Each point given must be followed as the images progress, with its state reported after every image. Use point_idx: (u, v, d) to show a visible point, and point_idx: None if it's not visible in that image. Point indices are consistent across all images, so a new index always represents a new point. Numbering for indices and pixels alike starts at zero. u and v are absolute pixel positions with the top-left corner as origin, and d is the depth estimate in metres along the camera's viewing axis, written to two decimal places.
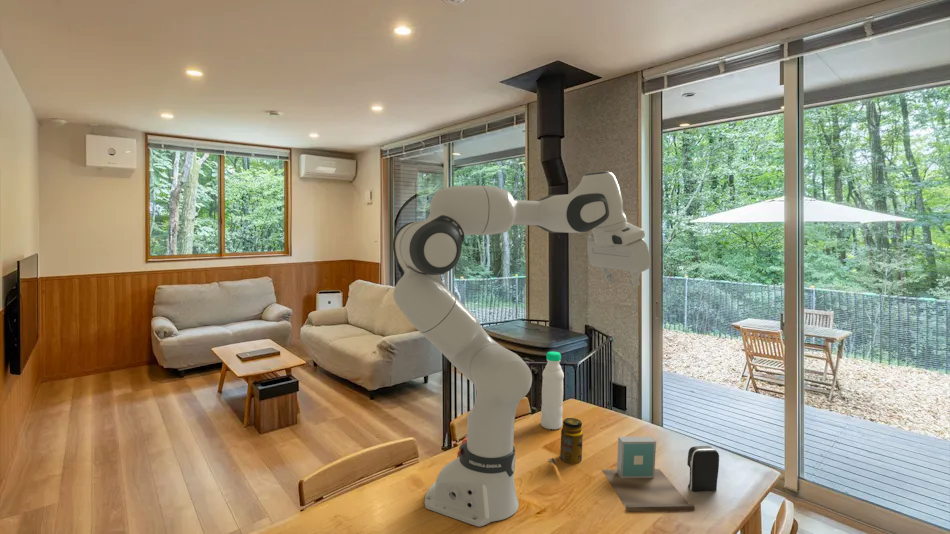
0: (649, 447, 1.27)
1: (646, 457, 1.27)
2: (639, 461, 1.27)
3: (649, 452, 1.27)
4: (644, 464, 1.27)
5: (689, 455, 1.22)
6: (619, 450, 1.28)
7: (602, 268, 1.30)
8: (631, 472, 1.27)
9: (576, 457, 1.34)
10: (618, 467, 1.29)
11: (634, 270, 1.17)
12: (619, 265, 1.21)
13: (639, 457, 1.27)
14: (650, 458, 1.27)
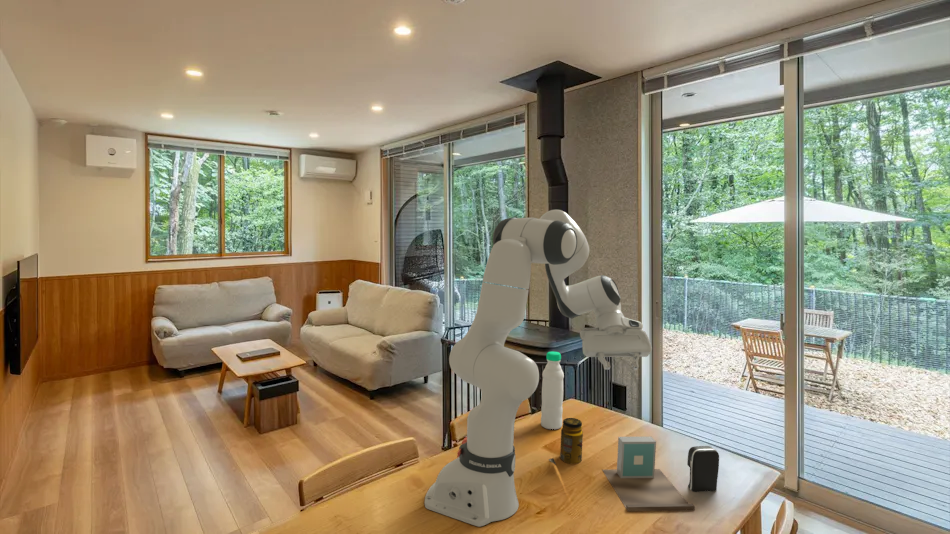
0: (649, 447, 1.27)
1: (646, 457, 1.27)
2: (639, 461, 1.27)
3: (649, 452, 1.27)
4: (644, 464, 1.27)
5: (689, 454, 1.22)
6: (619, 450, 1.28)
7: (602, 354, 1.42)
8: (631, 472, 1.27)
9: (576, 457, 1.34)
10: (618, 467, 1.29)
11: (645, 349, 1.42)
12: (627, 347, 1.43)
13: (639, 457, 1.27)
14: (650, 458, 1.27)
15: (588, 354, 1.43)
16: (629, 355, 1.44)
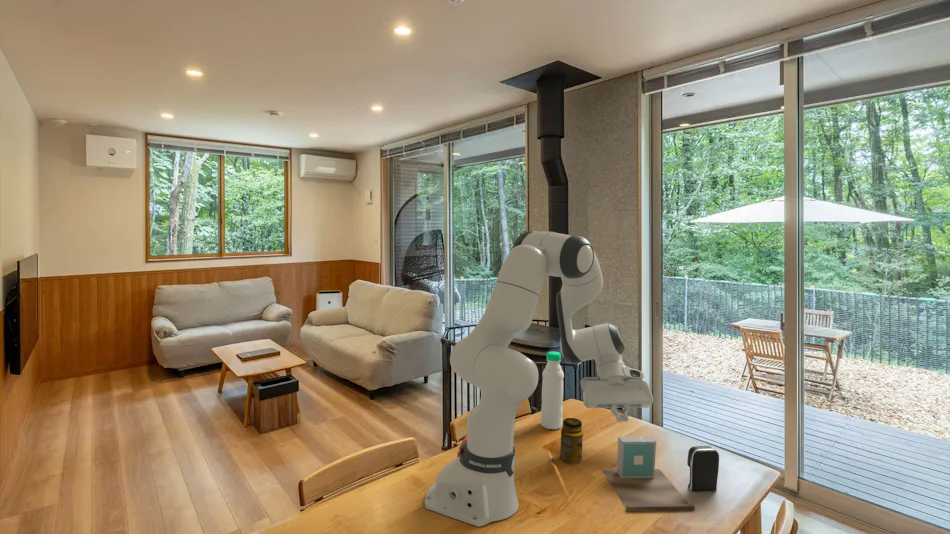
0: (649, 447, 1.27)
1: (646, 457, 1.27)
2: (639, 461, 1.27)
3: (649, 452, 1.27)
4: (644, 464, 1.27)
5: (689, 455, 1.22)
6: (619, 450, 1.28)
7: (615, 406, 1.40)
8: (631, 472, 1.27)
9: (576, 457, 1.34)
10: (618, 467, 1.29)
11: (647, 401, 1.41)
12: (629, 398, 1.41)
13: (639, 457, 1.27)
14: (650, 458, 1.27)
15: (589, 406, 1.41)
16: (630, 406, 1.43)
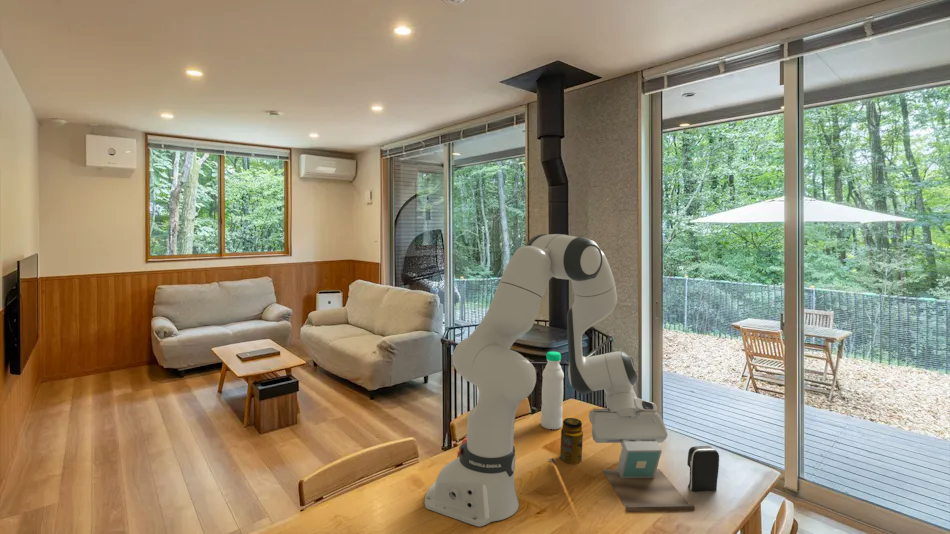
0: (654, 454, 1.24)
1: (649, 462, 1.25)
2: (641, 465, 1.25)
3: (653, 458, 1.24)
4: (646, 467, 1.26)
5: (689, 454, 1.22)
6: (622, 454, 1.26)
7: (626, 441, 1.30)
8: (632, 473, 1.26)
9: (576, 457, 1.34)
10: (619, 467, 1.28)
11: (660, 436, 1.31)
12: (641, 433, 1.31)
13: (642, 462, 1.25)
14: (653, 463, 1.25)
15: (598, 441, 1.31)
16: None
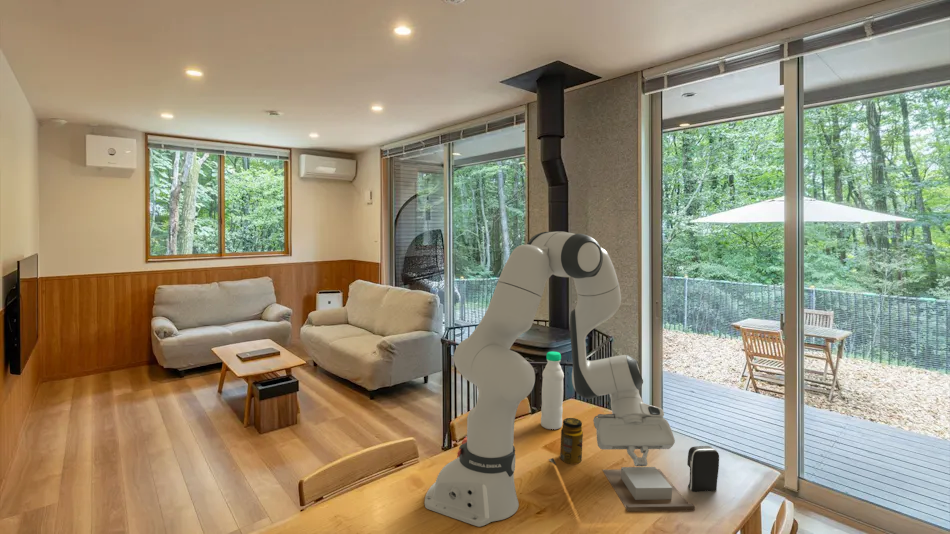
0: None
1: None
2: None
3: None
4: None
5: (689, 454, 1.22)
6: (630, 485, 1.20)
7: (632, 448, 1.26)
8: None
9: (576, 457, 1.34)
10: (623, 474, 1.25)
11: (667, 442, 1.27)
12: (648, 439, 1.27)
13: None
14: None
15: (603, 447, 1.27)
16: (649, 447, 1.29)
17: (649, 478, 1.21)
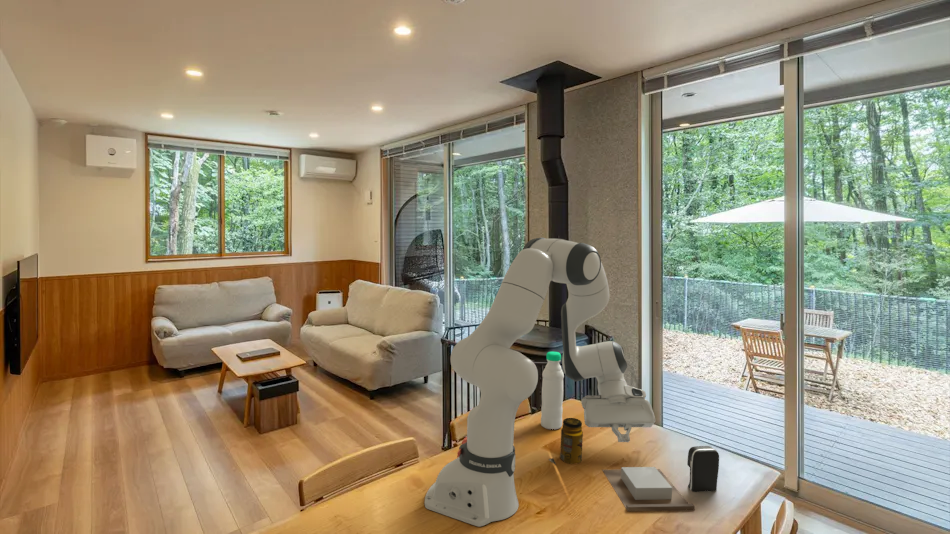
0: None
1: None
2: None
3: None
4: None
5: (689, 454, 1.22)
6: (630, 485, 1.20)
7: (616, 425, 1.38)
8: None
9: (576, 457, 1.34)
10: (623, 474, 1.25)
11: (648, 421, 1.39)
12: (630, 418, 1.39)
13: None
14: None
15: (590, 425, 1.39)
16: (632, 426, 1.41)
17: (649, 478, 1.21)
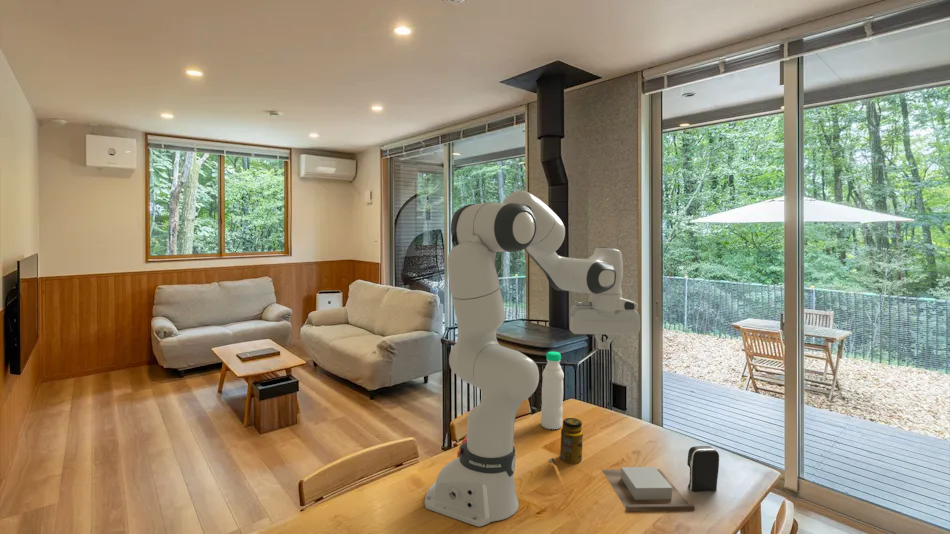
0: None
1: None
2: None
3: None
4: None
5: (689, 455, 1.22)
6: (630, 485, 1.20)
7: (599, 335, 1.41)
8: None
9: (576, 457, 1.34)
10: (623, 474, 1.25)
11: (632, 333, 1.40)
12: (615, 330, 1.40)
13: None
14: None
15: None
16: None
17: (649, 478, 1.21)
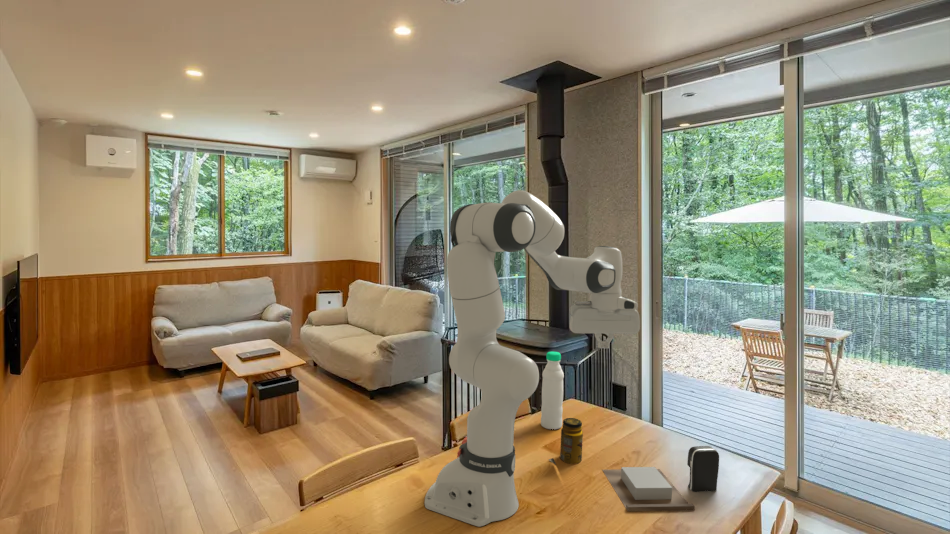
0: None
1: None
2: None
3: None
4: None
5: (689, 454, 1.22)
6: (630, 485, 1.20)
7: (599, 334, 1.41)
8: None
9: (576, 457, 1.34)
10: (623, 474, 1.25)
11: (632, 332, 1.40)
12: (615, 329, 1.40)
13: None
14: None
15: None
16: None
17: (649, 478, 1.21)
